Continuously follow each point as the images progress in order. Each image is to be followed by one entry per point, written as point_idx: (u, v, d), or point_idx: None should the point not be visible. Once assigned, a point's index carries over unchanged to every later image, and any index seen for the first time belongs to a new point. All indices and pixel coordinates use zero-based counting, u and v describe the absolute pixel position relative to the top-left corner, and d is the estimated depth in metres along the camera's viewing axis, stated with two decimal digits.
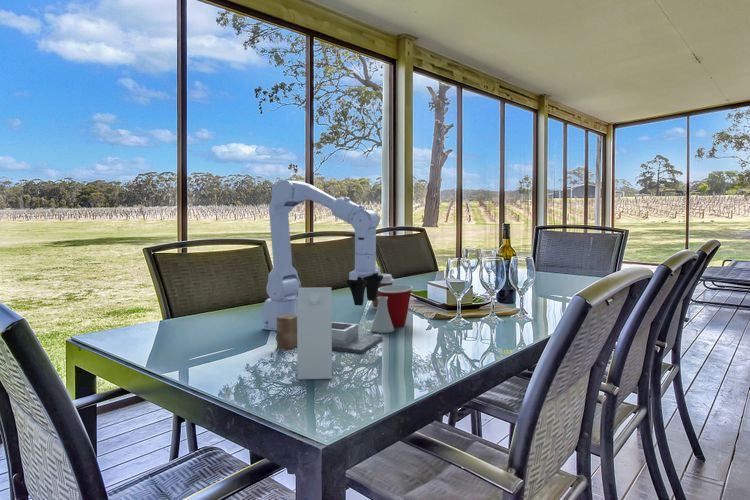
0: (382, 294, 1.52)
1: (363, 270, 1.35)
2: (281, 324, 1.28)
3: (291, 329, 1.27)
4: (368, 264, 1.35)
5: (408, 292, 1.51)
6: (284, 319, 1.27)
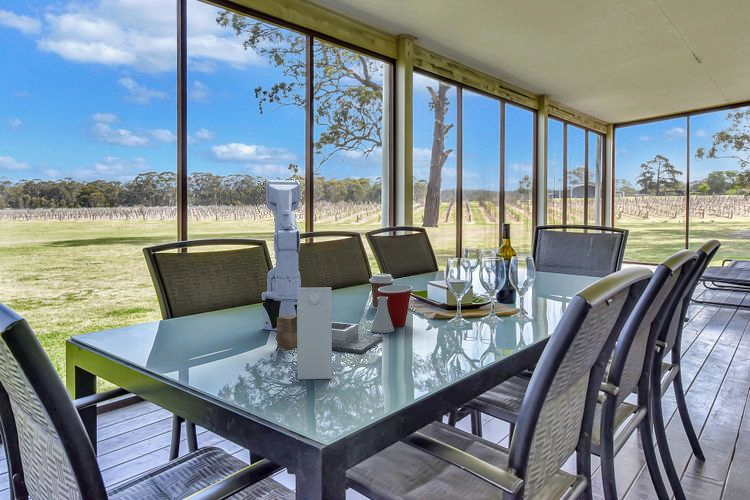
0: (382, 294, 1.52)
1: None
2: (281, 324, 1.28)
3: (291, 329, 1.27)
4: (276, 287, 1.28)
5: (408, 292, 1.51)
6: (284, 319, 1.27)
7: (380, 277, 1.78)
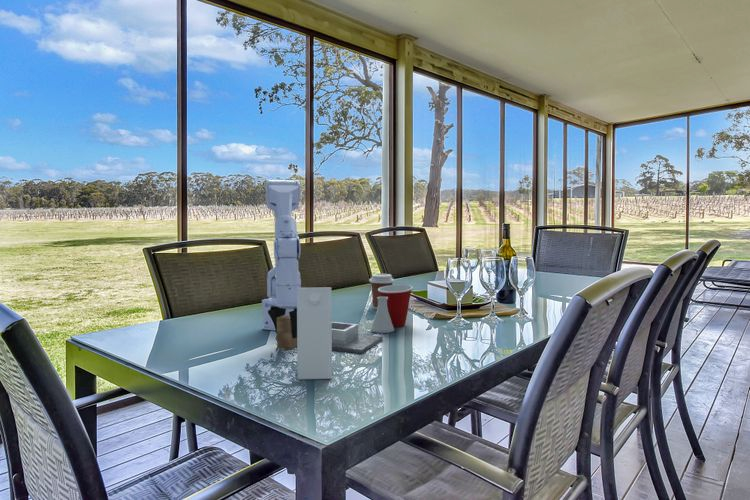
0: (382, 294, 1.52)
1: None
2: (281, 324, 1.28)
3: (291, 328, 1.27)
4: (276, 295, 1.28)
5: (408, 292, 1.51)
6: (284, 319, 1.27)
7: (380, 277, 1.78)
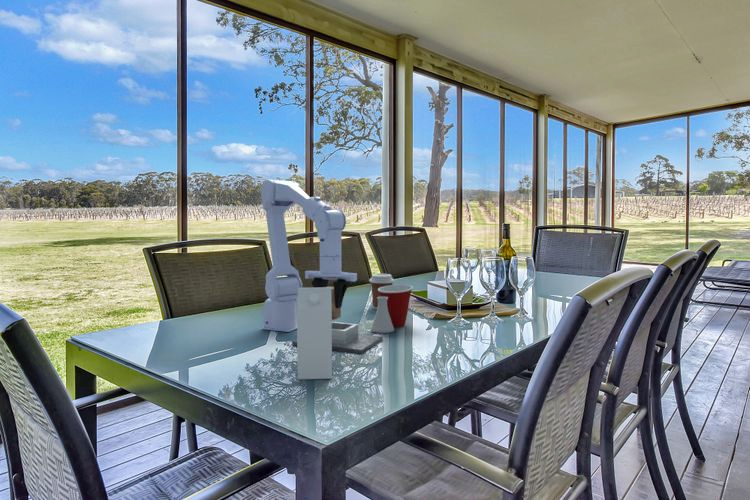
0: (382, 294, 1.52)
1: None
2: None
3: (334, 299, 1.30)
4: (320, 266, 1.31)
5: (408, 292, 1.51)
6: None
7: (380, 277, 1.78)
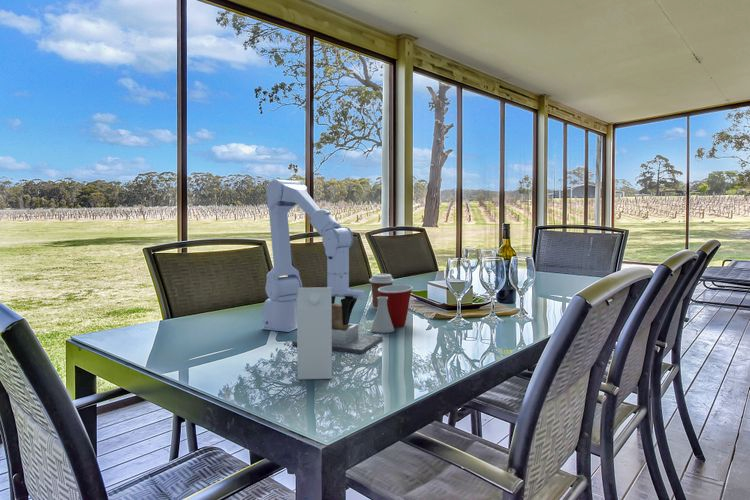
0: (382, 294, 1.52)
1: None
2: (332, 311, 1.32)
3: (342, 316, 1.32)
4: (327, 283, 1.32)
5: (408, 292, 1.51)
6: (335, 307, 1.32)
7: (380, 277, 1.78)
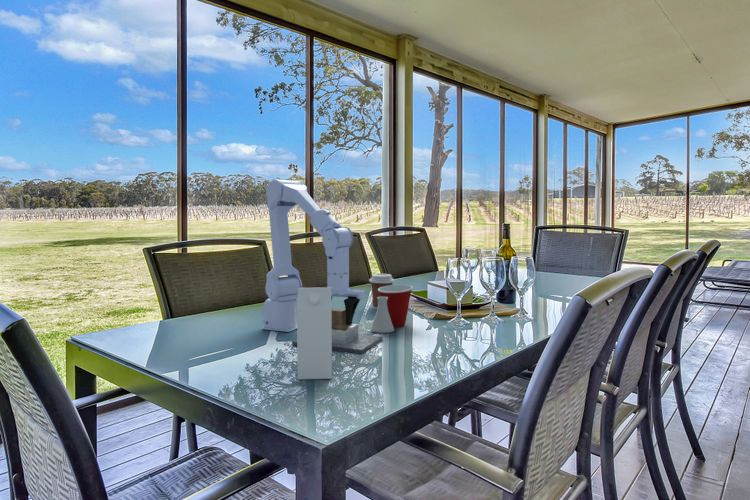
0: (382, 294, 1.52)
1: None
2: None
3: (341, 321, 1.32)
4: (327, 283, 1.32)
5: (408, 292, 1.51)
6: (335, 312, 1.32)
7: (380, 277, 1.78)
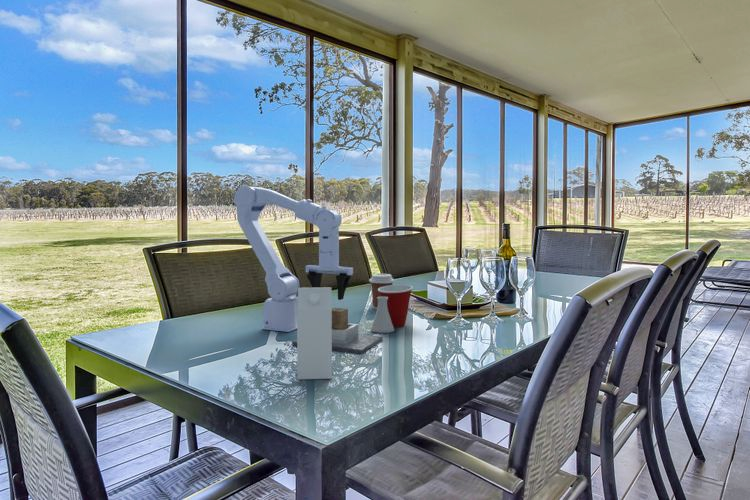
0: (382, 294, 1.52)
1: None
2: (332, 316, 1.32)
3: (342, 321, 1.32)
4: (319, 261, 1.44)
5: (408, 292, 1.51)
6: (335, 312, 1.32)
7: (380, 277, 1.78)
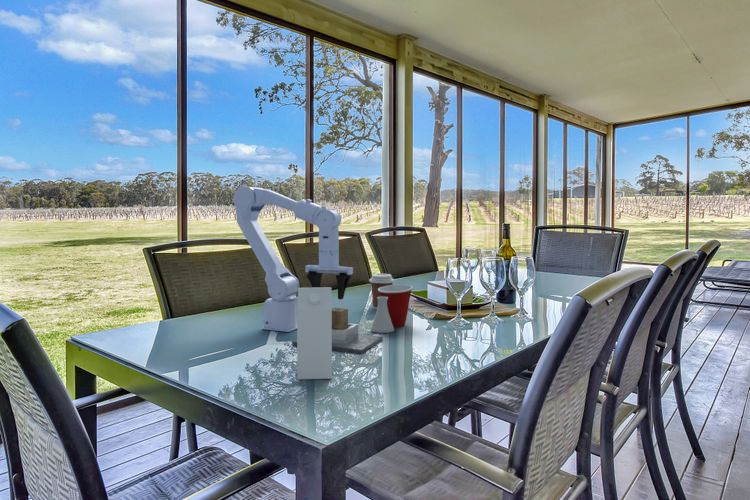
0: (382, 294, 1.52)
1: None
2: (332, 316, 1.32)
3: (342, 321, 1.32)
4: (319, 260, 1.44)
5: (408, 292, 1.51)
6: (335, 312, 1.32)
7: (380, 277, 1.78)
